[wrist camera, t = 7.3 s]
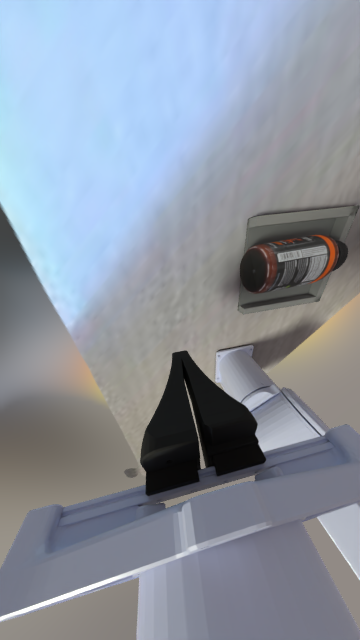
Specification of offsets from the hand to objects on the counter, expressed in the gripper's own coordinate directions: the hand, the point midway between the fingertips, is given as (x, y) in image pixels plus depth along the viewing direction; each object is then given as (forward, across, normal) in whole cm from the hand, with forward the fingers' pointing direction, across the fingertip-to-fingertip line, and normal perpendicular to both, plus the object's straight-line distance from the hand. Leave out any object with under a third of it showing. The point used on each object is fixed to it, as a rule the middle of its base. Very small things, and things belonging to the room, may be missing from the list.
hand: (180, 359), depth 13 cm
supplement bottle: (+7, -11, -6) cm, 14 cm away
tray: (+10, -19, -5) cm, 22 cm away
